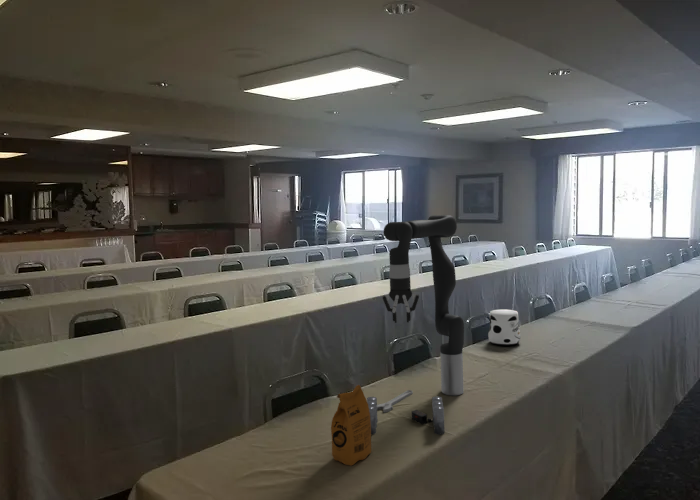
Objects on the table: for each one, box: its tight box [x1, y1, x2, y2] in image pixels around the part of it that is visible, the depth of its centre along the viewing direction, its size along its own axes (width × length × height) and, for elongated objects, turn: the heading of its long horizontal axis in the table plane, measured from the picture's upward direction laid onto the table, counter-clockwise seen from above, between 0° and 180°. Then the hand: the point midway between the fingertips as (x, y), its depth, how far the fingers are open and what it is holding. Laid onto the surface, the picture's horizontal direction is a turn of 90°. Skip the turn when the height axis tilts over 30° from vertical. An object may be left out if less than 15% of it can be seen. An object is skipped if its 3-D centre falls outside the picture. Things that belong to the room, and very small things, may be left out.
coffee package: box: [330, 384, 372, 466], centre depth 167 cm, size 10×12×22 cm
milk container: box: [487, 308, 521, 347], centre depth 292 cm, size 17×17×18 cm
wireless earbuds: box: [411, 409, 433, 425], centre depth 193 cm, size 5×7×3 cm, turn 32°
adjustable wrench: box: [377, 389, 413, 414], centre depth 212 cm, size 25×6×2 cm, turn 138°
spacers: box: [366, 396, 446, 436], centre depth 188 cm, size 13×28×9 cm, turn 84°
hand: (401, 321), depth 193 cm, fingers open, 4 cm apart
